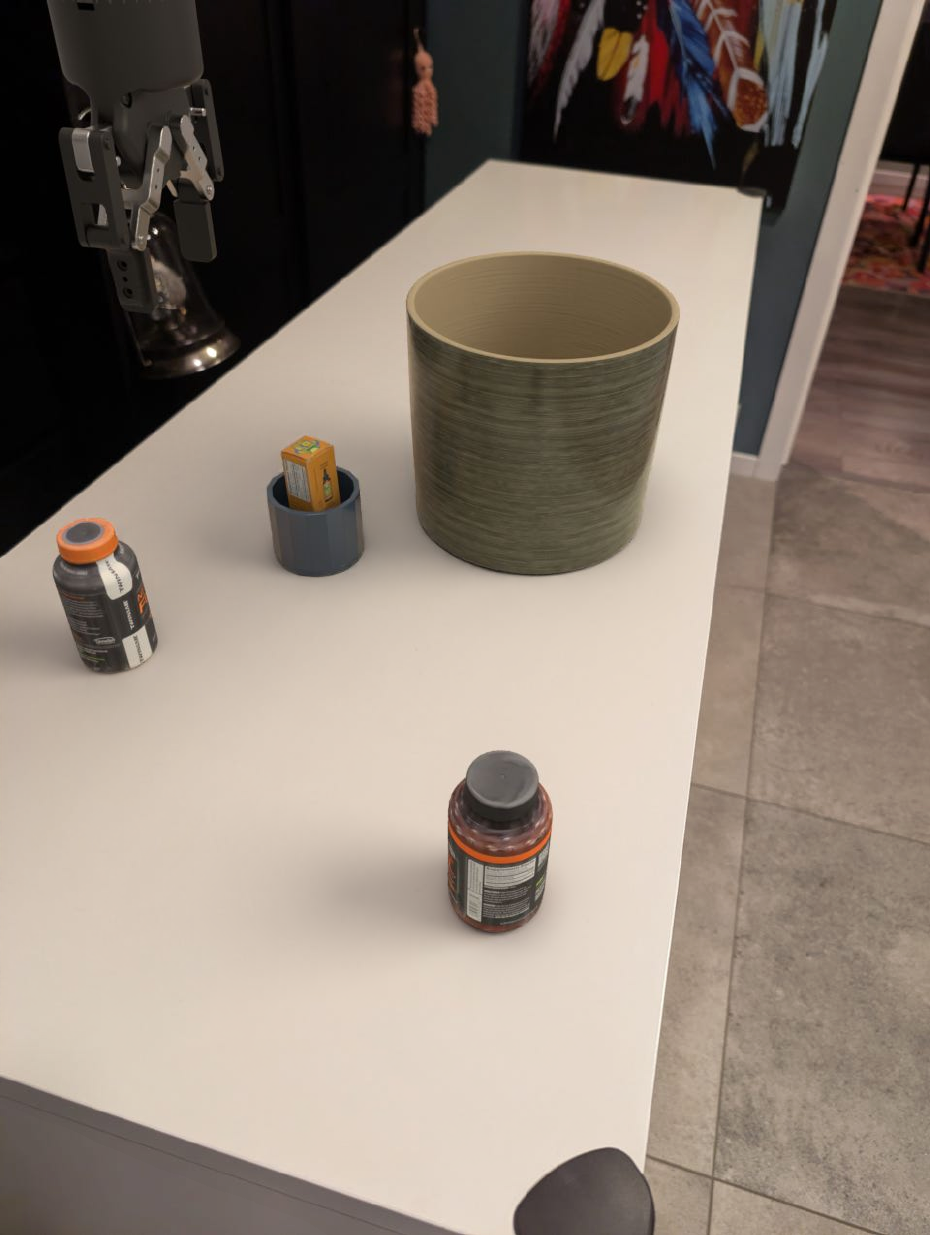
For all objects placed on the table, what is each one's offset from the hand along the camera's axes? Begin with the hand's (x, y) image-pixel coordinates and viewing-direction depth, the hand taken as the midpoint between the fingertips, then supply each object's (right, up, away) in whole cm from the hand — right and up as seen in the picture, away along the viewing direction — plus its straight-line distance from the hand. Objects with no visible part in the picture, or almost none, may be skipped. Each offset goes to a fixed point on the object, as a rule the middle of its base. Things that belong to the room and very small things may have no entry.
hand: (172, 283), depth 61 cm
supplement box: (+6, -15, +24) cm, 29 cm away
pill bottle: (-9, -24, +15) cm, 29 cm away
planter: (+25, -11, +30) cm, 41 cm away
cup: (+6, -15, +25) cm, 30 cm away
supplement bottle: (+20, -38, -1) cm, 44 cm away
